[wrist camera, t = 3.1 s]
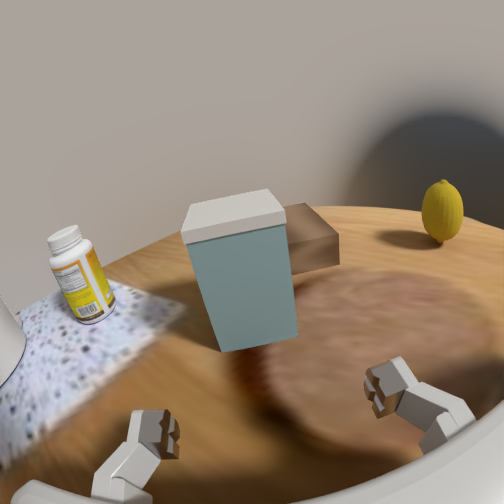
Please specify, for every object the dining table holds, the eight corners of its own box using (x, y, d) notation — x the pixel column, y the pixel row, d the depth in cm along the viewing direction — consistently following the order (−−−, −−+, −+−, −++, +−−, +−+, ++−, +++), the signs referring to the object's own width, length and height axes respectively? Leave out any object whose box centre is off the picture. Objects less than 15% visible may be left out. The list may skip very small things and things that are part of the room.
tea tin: (220, 353, 20) (180, 232, 16) (219, 307, 26) (190, 204, 21) (299, 337, 20) (285, 210, 16) (283, 293, 26) (267, 188, 21)
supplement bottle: (104, 294, 31) (74, 221, 27) (126, 304, 28) (92, 221, 24) (72, 318, 27) (36, 242, 23) (90, 332, 24) (47, 246, 20)
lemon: (413, 245, 29) (415, 180, 25) (428, 230, 31) (430, 172, 28) (452, 258, 25) (460, 188, 21) (463, 240, 27) (469, 180, 24)
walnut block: (230, 291, 28) (221, 258, 27) (226, 245, 39) (220, 219, 38) (339, 267, 29) (338, 233, 27) (307, 228, 40) (305, 202, 38)
